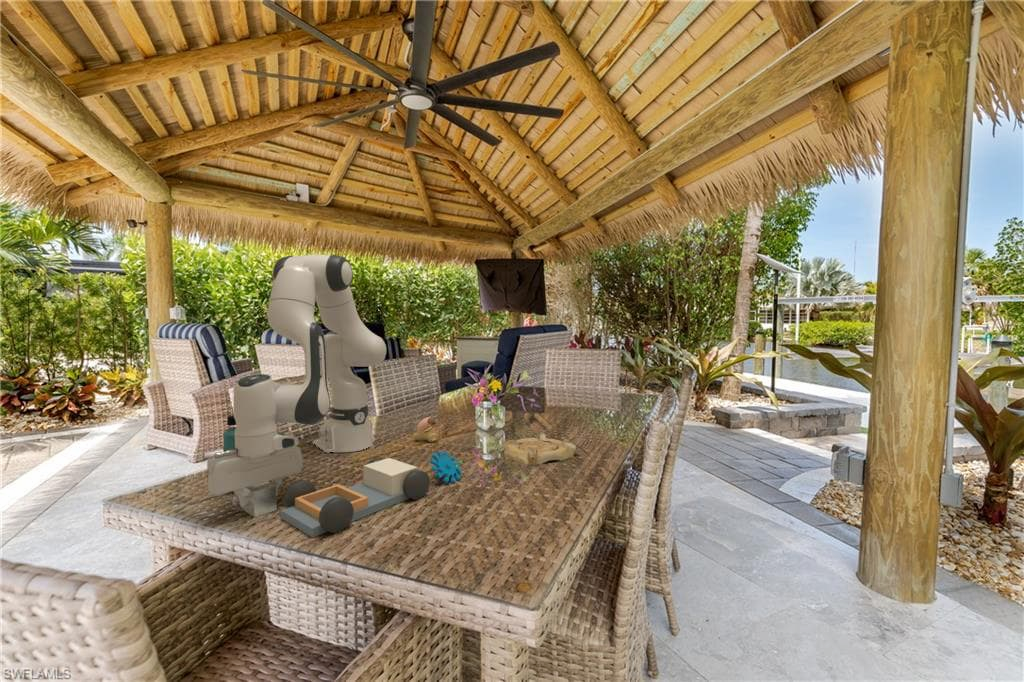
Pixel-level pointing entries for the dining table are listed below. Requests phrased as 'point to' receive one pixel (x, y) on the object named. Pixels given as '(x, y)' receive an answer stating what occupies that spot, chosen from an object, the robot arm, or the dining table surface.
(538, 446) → the ashtray
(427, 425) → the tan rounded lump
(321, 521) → the chassis
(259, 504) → the block
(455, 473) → the gear
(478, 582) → the dining table surface
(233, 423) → the beverage bottle
